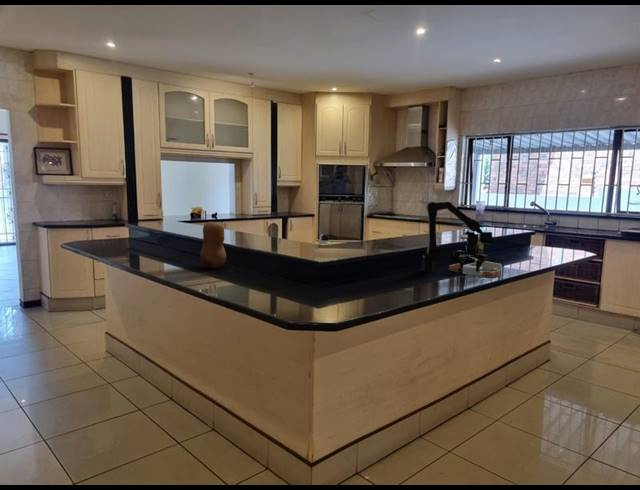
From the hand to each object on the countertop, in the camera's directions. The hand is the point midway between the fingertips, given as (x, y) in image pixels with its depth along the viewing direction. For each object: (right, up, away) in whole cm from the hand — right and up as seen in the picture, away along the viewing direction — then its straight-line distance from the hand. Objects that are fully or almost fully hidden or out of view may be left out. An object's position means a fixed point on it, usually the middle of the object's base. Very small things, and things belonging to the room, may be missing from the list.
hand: (469, 270), depth 255 cm
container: (-82, +8, +44) cm, 93 cm away
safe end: (+15, -1, +14) cm, 20 cm away
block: (+2, -2, +2) cm, 3 cm away
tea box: (+17, +5, +51) cm, 54 cm away
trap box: (+7, -1, +7) cm, 10 cm away
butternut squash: (-143, +2, -10) cm, 143 cm away
